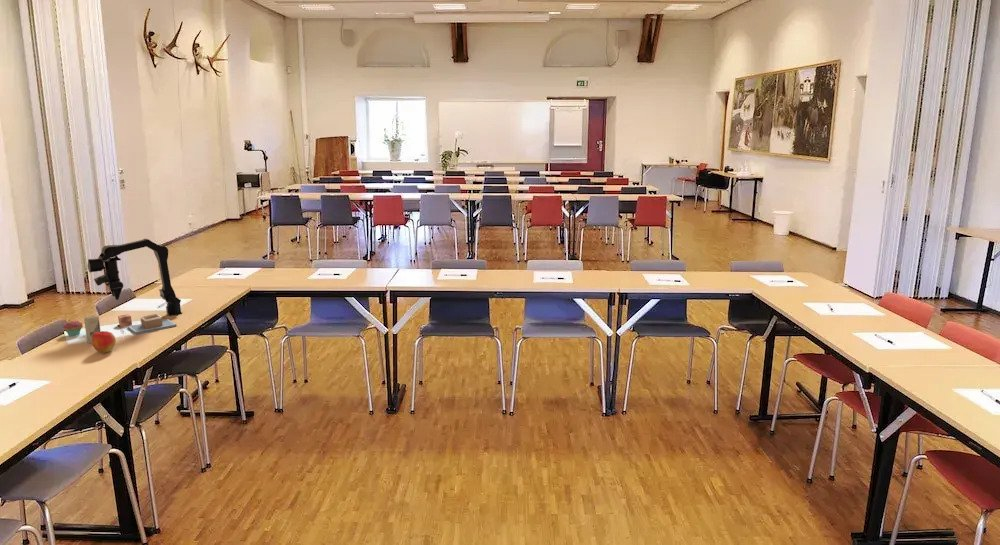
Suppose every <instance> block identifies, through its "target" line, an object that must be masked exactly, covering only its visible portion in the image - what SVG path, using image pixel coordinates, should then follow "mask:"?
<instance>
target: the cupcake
mask: <svg viewBox="0 0 1000 545" xmlns="http://www.w3.org/2000/svg"><path fill="white" fill-rule="evenodd" d="M66 315H67V318H68V321H67V322H66V323H65V324H63V326H62V329H63V331H65V332H66V333H67V335H68V336H69V337H77V336H79V335H80V334H81V329H82V328H83V327H84V325H83V323H82V322H80V321H78V320H71V318H70V315H69V314H68V313H67V314H66ZM76 335H77V336H76Z"/></svg>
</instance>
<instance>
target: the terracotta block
mask: <svg viewBox="0 0 1000 545" xmlns="http://www.w3.org/2000/svg"><path fill="white" fill-rule="evenodd" d="M117 319H118V325H119V326H120V327H128V326H133V321H132V315H130V314H127V313H125V314H121V315H118V316H117Z"/></svg>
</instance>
